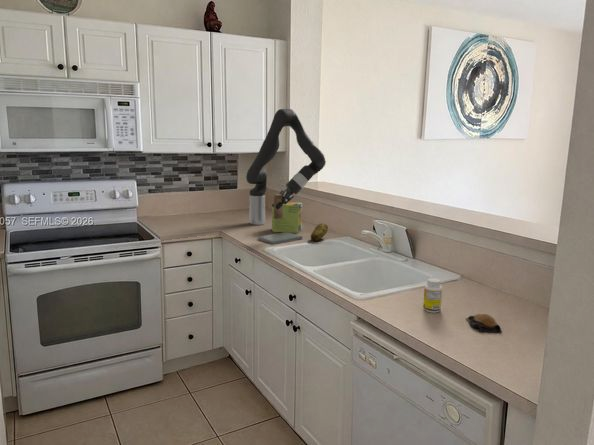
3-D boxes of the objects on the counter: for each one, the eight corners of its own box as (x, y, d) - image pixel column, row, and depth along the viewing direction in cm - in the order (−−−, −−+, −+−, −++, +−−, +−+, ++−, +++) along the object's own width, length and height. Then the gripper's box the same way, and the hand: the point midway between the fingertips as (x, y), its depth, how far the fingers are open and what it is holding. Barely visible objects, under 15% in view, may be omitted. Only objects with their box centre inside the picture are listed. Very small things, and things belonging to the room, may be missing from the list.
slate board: (258, 239, 250) (258, 236, 249) (286, 234, 262) (286, 231, 261) (273, 244, 240) (273, 241, 240) (302, 239, 252) (302, 236, 252)
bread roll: (463, 320, 150) (464, 309, 149) (490, 320, 150) (491, 309, 149) (475, 334, 139) (476, 322, 139) (505, 335, 139) (506, 322, 139)
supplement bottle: (427, 305, 160) (429, 276, 158) (443, 309, 157) (445, 279, 155) (420, 310, 156) (422, 280, 154) (436, 314, 153) (438, 283, 150)
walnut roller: (272, 217, 248) (271, 194, 246) (279, 216, 251) (279, 194, 248) (277, 219, 244) (277, 195, 242) (284, 218, 247) (284, 195, 245)
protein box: (298, 233, 266) (299, 205, 263) (271, 231, 269) (271, 204, 266) (302, 229, 276) (302, 202, 273) (276, 227, 279) (276, 201, 276)
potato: (304, 240, 250) (304, 224, 248) (321, 236, 259) (321, 221, 257) (315, 243, 244) (315, 227, 242) (332, 239, 253) (333, 224, 251)
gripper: (287, 176, 253) (265, 200, 251) (297, 179, 240) (274, 204, 238) (297, 186, 256) (275, 210, 254) (306, 190, 242) (284, 214, 241)
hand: (274, 207), depth 246 cm, fingers closed on walnut roller, 4 cm apart
